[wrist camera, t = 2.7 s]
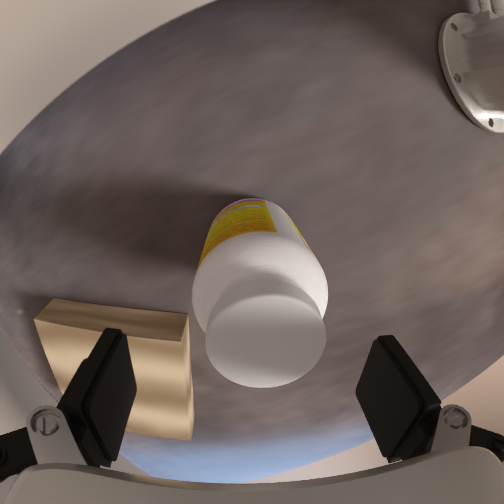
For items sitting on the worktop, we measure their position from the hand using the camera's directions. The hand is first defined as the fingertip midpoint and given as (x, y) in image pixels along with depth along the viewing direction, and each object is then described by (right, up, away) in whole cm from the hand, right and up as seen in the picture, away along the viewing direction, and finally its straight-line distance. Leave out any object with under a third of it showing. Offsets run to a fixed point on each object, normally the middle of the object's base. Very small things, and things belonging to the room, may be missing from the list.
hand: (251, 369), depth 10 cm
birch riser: (-13, -7, +17) cm, 22 cm away
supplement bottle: (0, +5, +13) cm, 14 cm away
